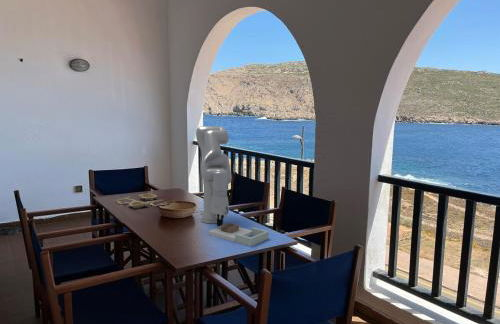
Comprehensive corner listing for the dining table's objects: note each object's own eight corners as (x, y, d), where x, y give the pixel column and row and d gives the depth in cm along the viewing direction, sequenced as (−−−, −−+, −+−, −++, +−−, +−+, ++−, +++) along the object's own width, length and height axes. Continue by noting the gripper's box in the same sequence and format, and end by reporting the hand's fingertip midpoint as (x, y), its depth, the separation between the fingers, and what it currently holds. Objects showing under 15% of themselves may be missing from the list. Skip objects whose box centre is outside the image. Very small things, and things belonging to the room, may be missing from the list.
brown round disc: (220, 230, 203) (220, 225, 202) (229, 227, 208) (229, 222, 208) (230, 233, 199) (230, 227, 198) (238, 230, 204) (239, 224, 204)
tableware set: (112, 202, 270) (112, 196, 270) (150, 196, 290) (150, 191, 289) (134, 212, 245) (134, 206, 244) (173, 205, 264) (173, 199, 264)
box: (234, 241, 192) (235, 234, 191) (252, 234, 204) (253, 227, 203) (250, 246, 185) (251, 238, 185) (268, 238, 197) (268, 231, 197)
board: (208, 234, 202) (208, 230, 202) (228, 227, 215) (228, 224, 214) (234, 242, 191) (234, 238, 191) (253, 234, 204) (253, 230, 204)
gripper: (205, 192, 207) (205, 224, 209) (225, 196, 198) (225, 230, 200) (214, 190, 213) (214, 221, 215) (234, 194, 204) (234, 226, 206)
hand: (219, 225), depth 207 cm, fingers closed
